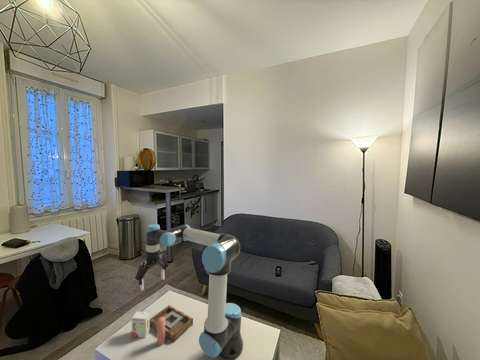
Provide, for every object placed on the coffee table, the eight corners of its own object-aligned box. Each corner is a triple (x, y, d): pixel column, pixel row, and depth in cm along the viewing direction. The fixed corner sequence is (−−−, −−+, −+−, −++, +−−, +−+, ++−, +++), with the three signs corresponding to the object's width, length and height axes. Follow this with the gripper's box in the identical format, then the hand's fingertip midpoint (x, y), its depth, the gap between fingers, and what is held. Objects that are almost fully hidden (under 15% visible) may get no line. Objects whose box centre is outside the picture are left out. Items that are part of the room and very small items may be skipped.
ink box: (131, 336, 114) (131, 317, 113) (135, 329, 119) (135, 311, 118) (145, 338, 114) (145, 318, 113) (149, 330, 119) (149, 312, 118)
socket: (183, 321, 125) (183, 317, 125) (170, 332, 117) (170, 328, 117) (172, 315, 130) (172, 310, 130) (159, 325, 122) (159, 320, 122)
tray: (192, 324, 125) (192, 318, 124) (174, 342, 112) (174, 335, 111) (169, 310, 136) (169, 305, 135) (149, 325, 123) (149, 319, 122)
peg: (166, 341, 112) (166, 318, 111) (160, 347, 109) (160, 323, 108) (161, 338, 114) (162, 315, 113) (155, 343, 111) (155, 320, 110)
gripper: (167, 242, 132) (167, 273, 133) (128, 255, 111) (128, 291, 113) (174, 245, 127) (173, 277, 129) (135, 259, 107) (135, 296, 108)
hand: (152, 283), depth 121 cm, fingers open, 13 cm apart
